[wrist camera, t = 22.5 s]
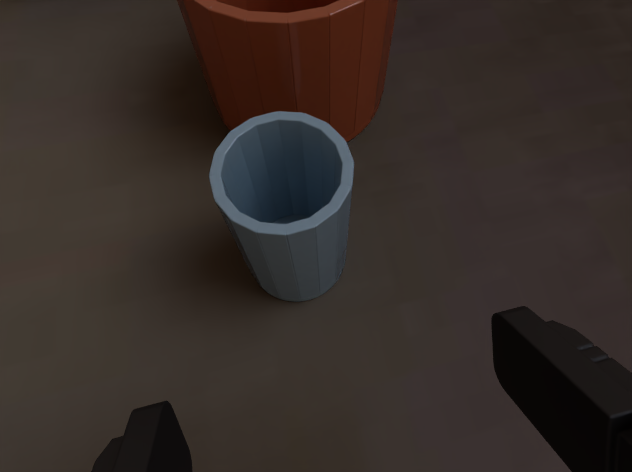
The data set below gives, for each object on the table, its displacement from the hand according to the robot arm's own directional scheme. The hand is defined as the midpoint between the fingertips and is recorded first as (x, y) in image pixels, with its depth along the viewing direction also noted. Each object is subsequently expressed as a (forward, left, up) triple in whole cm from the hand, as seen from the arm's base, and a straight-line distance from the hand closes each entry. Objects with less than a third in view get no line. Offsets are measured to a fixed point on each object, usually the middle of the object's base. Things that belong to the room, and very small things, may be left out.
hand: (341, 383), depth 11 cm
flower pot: (+22, +5, -14) cm, 27 cm away
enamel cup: (+9, +3, -14) cm, 17 cm away
